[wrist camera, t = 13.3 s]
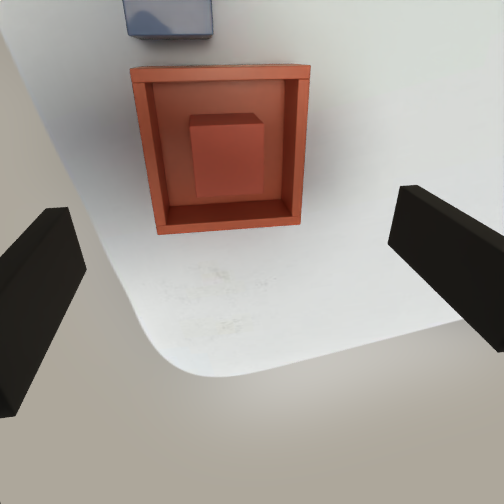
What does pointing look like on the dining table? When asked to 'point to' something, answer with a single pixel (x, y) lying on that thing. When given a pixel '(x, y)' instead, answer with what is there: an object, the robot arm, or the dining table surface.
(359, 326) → the dining table surface
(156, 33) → the blue block
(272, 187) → the red bin
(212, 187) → the red block
